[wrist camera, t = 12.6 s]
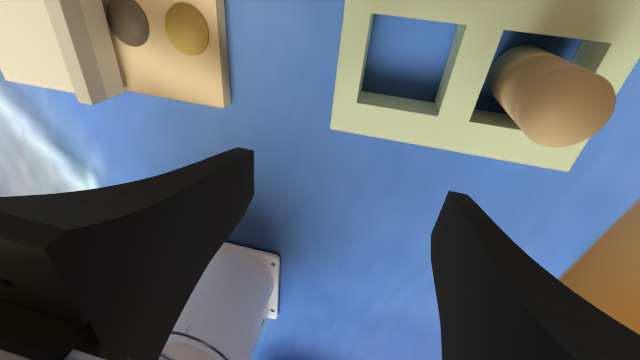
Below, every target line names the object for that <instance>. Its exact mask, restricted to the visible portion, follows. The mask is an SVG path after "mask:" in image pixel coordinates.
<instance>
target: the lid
mask: <svg viewBox="0 0 640 360" xmlns="http://www.w3.org/2000/svg"><path fill="white" fill-rule="evenodd" d="M0 69H1V71H2V73H3V75H4V78H5V80H6V81H12V82H17V83H23V84H28V85H33V86H39V87H44V88H50V89H55V90H60V91H66V92H71V93H75V94H76V97H77V100H78V102H79V103H84V104H89V105H94V104H96V103H99V102H102V101H104V100H107V99H110V98H112V97H115V96H118V95H120V94H123V93H125V91H124V87H123V83H122V79H121V75H120V71H119V68H118V64H117V60H116V56H115V52H114V48H113V44H112V40H111V36H110V32H109V28H108V24H107V20H106V16H105V12H104V8H103V4H102V0H0Z"/></svg>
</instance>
